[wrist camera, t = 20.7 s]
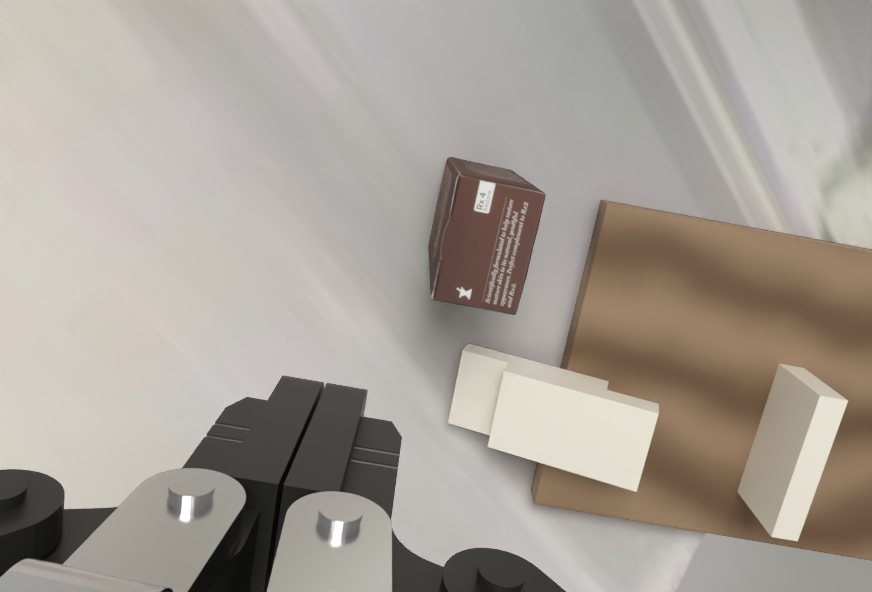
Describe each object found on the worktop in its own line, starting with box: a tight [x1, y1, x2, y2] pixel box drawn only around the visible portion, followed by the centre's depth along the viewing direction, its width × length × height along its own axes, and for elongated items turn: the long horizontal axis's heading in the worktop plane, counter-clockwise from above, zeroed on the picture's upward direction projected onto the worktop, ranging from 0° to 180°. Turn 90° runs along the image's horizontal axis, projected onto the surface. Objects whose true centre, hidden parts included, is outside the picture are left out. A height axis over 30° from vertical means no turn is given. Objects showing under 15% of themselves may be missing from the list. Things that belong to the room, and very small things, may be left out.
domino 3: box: [737, 364, 848, 541], centre depth 43 cm, size 2×5×9 cm
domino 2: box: [488, 363, 659, 492], centre depth 42 cm, size 2×5×9 cm
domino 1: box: [448, 344, 609, 435], centre depth 45 cm, size 2×5×9 cm
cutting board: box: [531, 200, 872, 561], centre depth 46 cm, size 20×27×2 cm
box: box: [429, 157, 545, 315], centre depth 38 cm, size 6×4×12 cm
